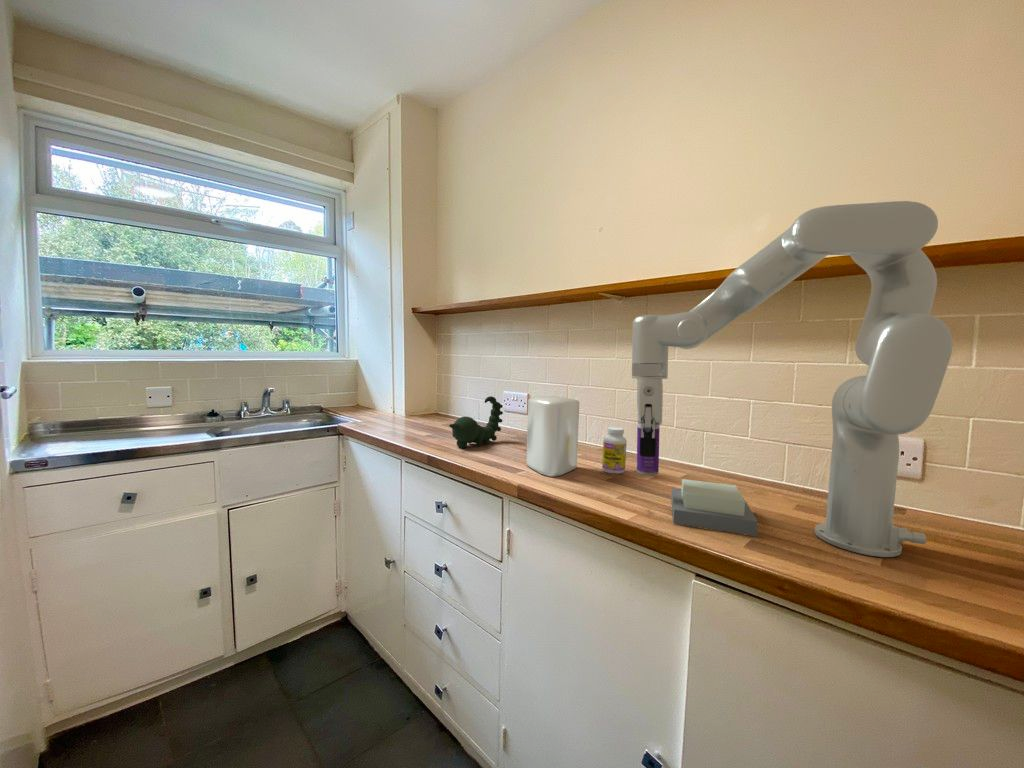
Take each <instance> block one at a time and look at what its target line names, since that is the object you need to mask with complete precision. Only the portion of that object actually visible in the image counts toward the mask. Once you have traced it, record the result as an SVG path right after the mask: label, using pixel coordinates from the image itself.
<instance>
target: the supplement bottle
mask: <svg viewBox="0 0 1024 768" xmlns="http://www.w3.org/2000/svg"><path fill="white" fill-rule="evenodd" d="M606 430H607V431H606V432H607V435H606V436H604V438H603V445H602V462H601V463H602V464H601V469H602V470H603V472H605V473H609V474H614V475H615V474H617V475H618V474H623V473H624V472H625V471H626V459H627V444H628V443H627V439H626V437H624V433H625V432H624V430H625V429H624V428H622V427H618V426H611V427H610V426H609V427H607V429H606Z"/></svg>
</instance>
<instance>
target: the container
mask: <svg viewBox="0 0 1024 768" xmlns="http://www.w3.org/2000/svg"><path fill="white" fill-rule="evenodd" d="M645 407H646V405H645ZM651 413H652V406H651ZM641 420H642V417H641ZM644 423H645V421H644ZM641 424H642V422H641ZM641 424H640V423H639V422H638V421H637V424H636V425H637V427H636V428H637V431H636V473H637V474H640V475H643V476H644V475H646V476H655V475H658V474H659V471H660V469H659V465H660V464H659V463H660V425H659V423H656V422H655V438H656V453H655V457H647V456H640V437H641V428H642V425H641ZM651 424H653V421H651Z"/></svg>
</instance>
